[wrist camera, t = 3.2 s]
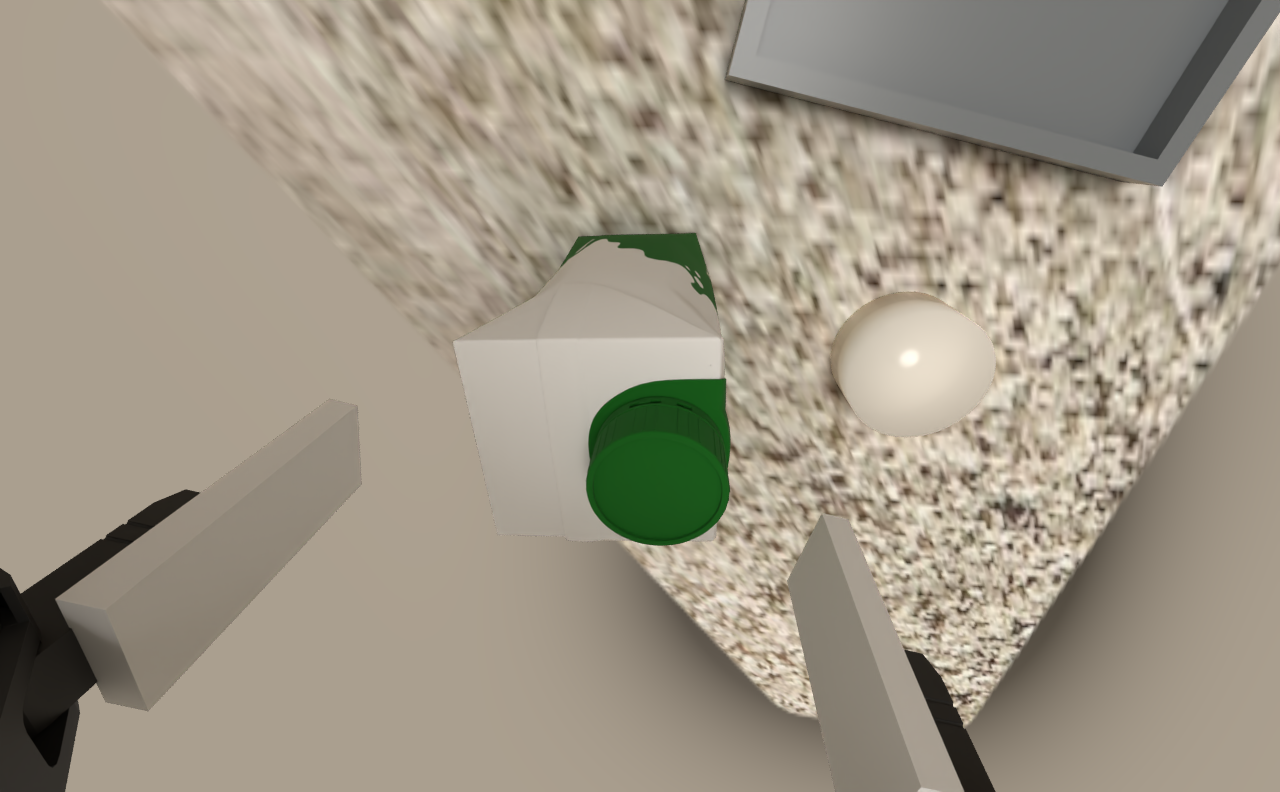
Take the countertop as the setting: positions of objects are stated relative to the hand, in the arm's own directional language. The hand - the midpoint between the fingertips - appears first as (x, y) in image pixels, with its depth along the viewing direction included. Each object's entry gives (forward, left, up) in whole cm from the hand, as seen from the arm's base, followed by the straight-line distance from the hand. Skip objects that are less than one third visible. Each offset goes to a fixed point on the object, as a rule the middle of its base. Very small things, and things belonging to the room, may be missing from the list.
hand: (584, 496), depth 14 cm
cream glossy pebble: (+17, 0, -20) cm, 26 cm away
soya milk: (0, 0, -20) cm, 20 cm away
